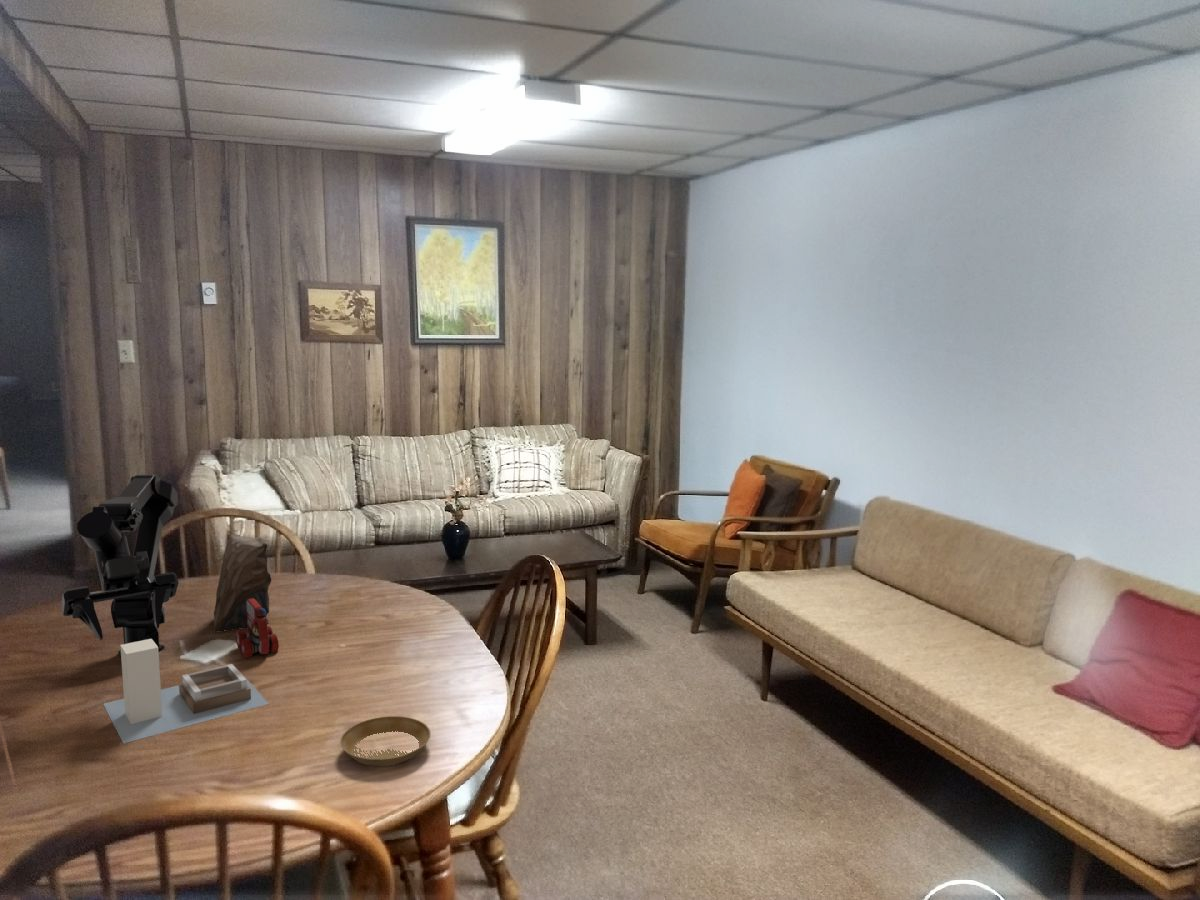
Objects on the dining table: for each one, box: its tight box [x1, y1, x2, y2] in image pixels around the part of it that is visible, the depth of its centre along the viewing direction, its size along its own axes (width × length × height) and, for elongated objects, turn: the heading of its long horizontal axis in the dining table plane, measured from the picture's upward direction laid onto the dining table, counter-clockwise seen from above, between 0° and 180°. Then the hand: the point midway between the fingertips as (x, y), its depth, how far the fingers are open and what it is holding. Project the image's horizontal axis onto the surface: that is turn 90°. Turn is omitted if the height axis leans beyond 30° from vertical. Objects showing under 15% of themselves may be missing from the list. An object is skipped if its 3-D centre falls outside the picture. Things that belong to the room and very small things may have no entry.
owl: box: [213, 533, 272, 633], centre depth 195 cm, size 13×13×20 cm
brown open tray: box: [178, 663, 251, 714], centre depth 157 cm, size 10×10×4 cm
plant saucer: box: [340, 715, 431, 767], centre depth 141 cm, size 15×15×3 cm
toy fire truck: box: [235, 598, 280, 659], centre depth 179 cm, size 7×12×10 cm, turn 35°
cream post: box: [119, 639, 162, 724], centre depth 149 cm, size 5×5×13 cm
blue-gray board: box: [103, 670, 270, 745], centre depth 154 cm, size 18×24×1 cm
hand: (130, 633), depth 153 cm, fingers open, 9 cm apart
